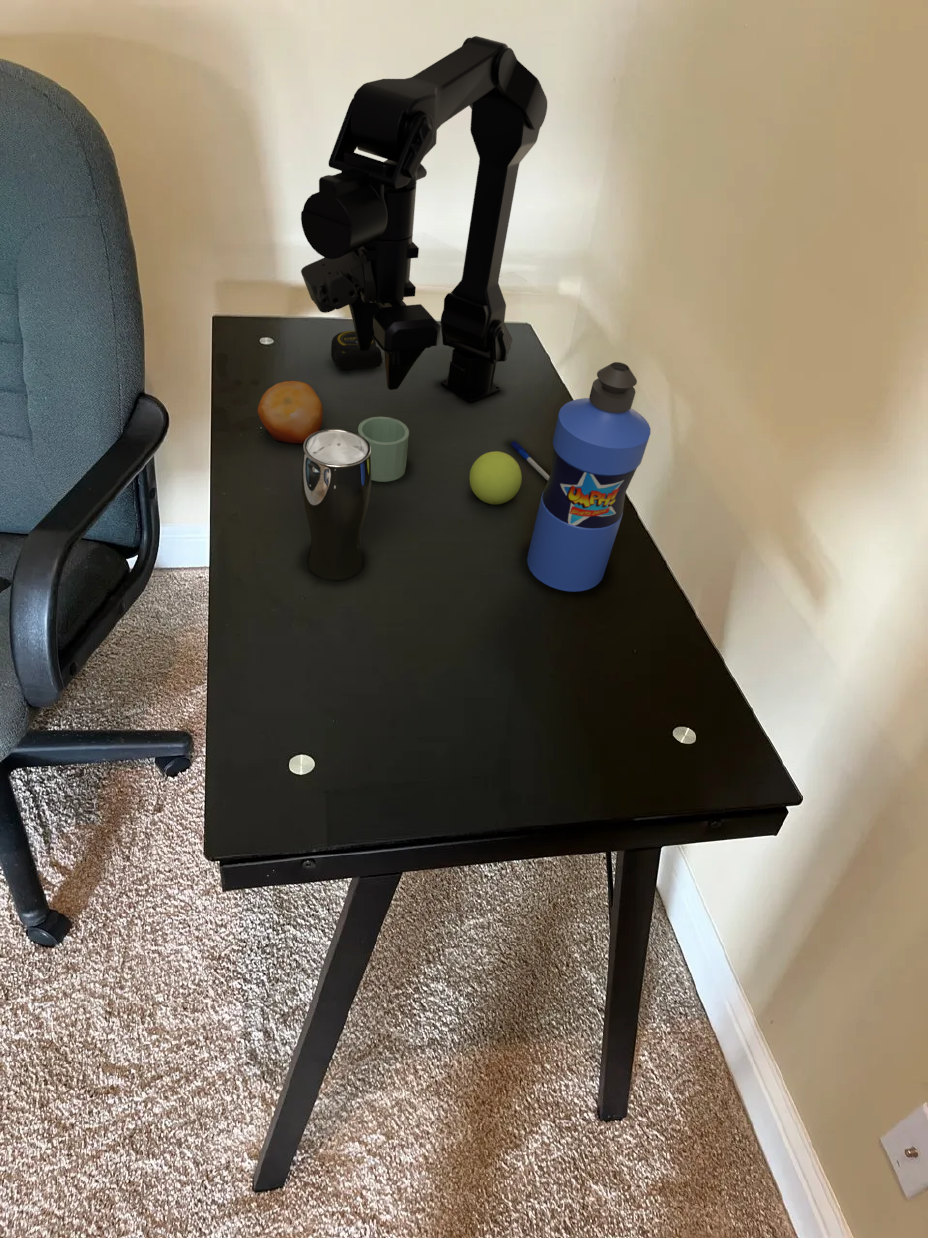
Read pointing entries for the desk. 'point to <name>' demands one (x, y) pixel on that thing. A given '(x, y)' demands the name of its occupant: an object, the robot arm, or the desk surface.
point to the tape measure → (353, 352)
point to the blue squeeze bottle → (588, 482)
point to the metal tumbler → (336, 500)
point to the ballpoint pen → (529, 459)
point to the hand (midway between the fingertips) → (378, 368)
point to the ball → (495, 477)
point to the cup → (386, 447)
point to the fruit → (291, 411)
